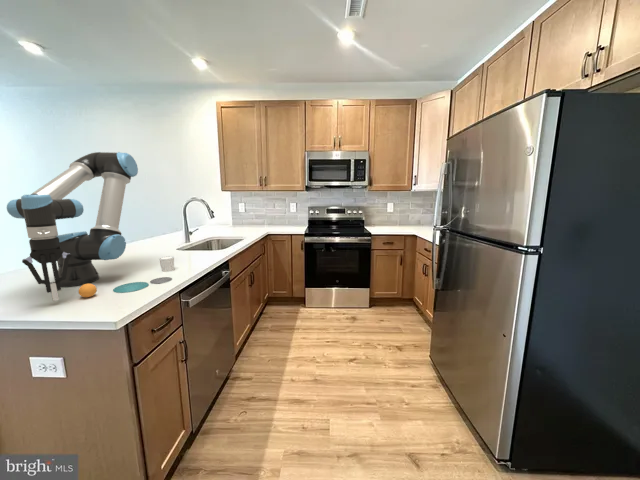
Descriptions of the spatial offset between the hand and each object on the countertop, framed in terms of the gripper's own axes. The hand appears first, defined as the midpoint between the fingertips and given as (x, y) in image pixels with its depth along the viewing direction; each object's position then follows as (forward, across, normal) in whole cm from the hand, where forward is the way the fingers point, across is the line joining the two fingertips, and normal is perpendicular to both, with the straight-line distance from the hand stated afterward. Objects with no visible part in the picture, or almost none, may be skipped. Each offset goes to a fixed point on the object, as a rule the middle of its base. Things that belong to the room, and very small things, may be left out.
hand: (55, 299), depth 100 cm
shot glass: (+2, +44, +16) cm, 47 cm away
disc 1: (+2, +24, 0) cm, 24 cm away
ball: (-1, +9, 0) cm, 9 cm away
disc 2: (+2, +36, 0) cm, 36 cm away
